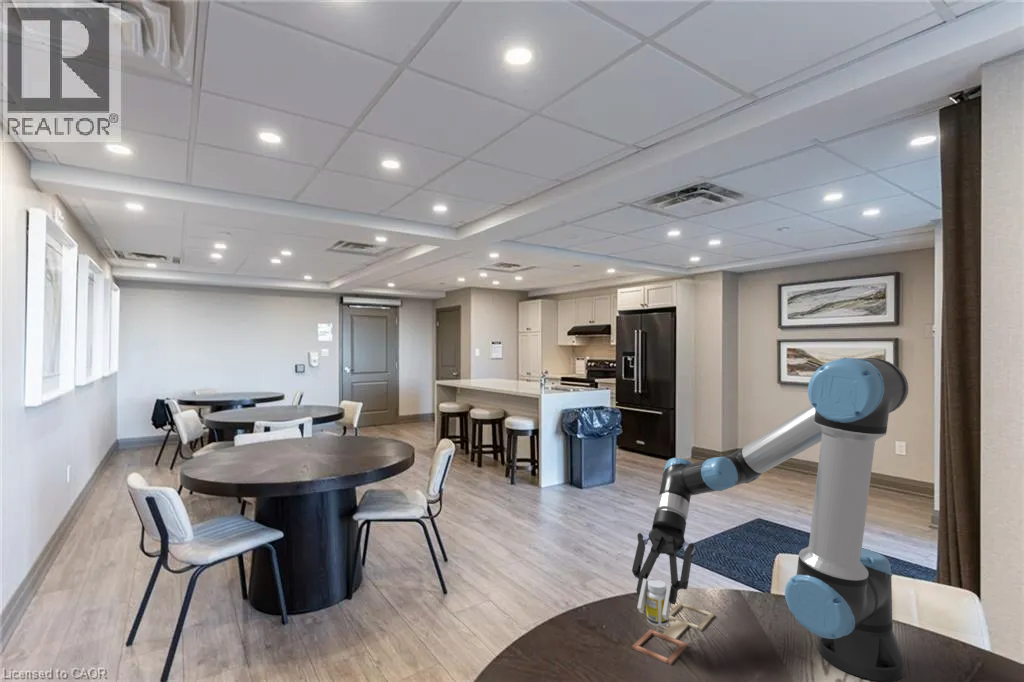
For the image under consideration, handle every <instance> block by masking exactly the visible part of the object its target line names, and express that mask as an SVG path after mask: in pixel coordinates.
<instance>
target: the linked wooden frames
mask: <svg viewBox="0 0 1024 682" xmlns="http://www.w3.org/2000/svg"><path fill="white" fill-rule="evenodd" d="M682 608H684V609H687V610H690V611H692V612H695V611H696V612H695V613H698V612H700V613H699V614H701V613H703V614H702V615H704V614H707V615H708V616H707V615H706V617H705V618H704V620H702V621H701V623H700V624H699V625H698V624H695V623H693V622H689V621H686V620H684V619H681V618H678V617H675V616H674V615H675V614H676V613H677V612H679V611H680V610H681V609H682ZM714 616H716V614H715V613H712V612H710V611H707V610H704V609H702V608H698V607H695V606H692V605H689V604H686V603H684V602H683V603H682V602H679V603H677V604H675V606H674V607H673V608H672V609H670V612H669V618H668V621H669V620H670V621H673V623H672V624H671V625H670V626H668V628H667V629H666V630H665V631H664V632H663V633H661V632H658V631H656V630H653V629H649V630H648V631H647V632H646V633H645V634H643V635H642V636H641V637H640V638H639V639H638V640H637V641H636V642H634V643H633V645H631V649H633V650H634V651H638V652H640V653H642V654H644V655H647V656H649V657H651V658H654V659H656V660H658V661H661V662H662V663H666V664H667V665H670V666H671V665H672V664H673V663H674V662H675V661H676V660H677V659H678V658H679V656H680V655H681V654H682V653H683V652H684V651H685V650H686V649H687V647H689V644H688V643H687V642H684V641H681V640H679V637H681V635H682V634H683V633H684V632H685V631H686V630H687V629H688V628H689V627H690V628H691V629H695V630H697V631H699V632H702V631H703V630H704V629H705V627H706V626H708V625H709V623H710V622H711V621H712V620H713V619H714V618H715V617H714ZM713 617H714V618H713ZM712 618H713V619H712ZM711 619H712V620H711ZM652 636H655V637H658V638H660V639H662V640H664V641H667V642H669V643H673V644H675V645H677V646H678V647H677V648H676V650H674V652H672V653H671V655H670V656H669V657H667V656H663V655H661V654H659V653H657V652H654V651H652V650H650V649H647V648H645V647H642V645H643V644H644V643H646V641H648V640H649V638H651V637H652Z"/></svg>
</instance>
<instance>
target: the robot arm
mask: <svg viewBox="0 0 1024 682" xmlns="http://www.w3.org/2000/svg"><path fill="white" fill-rule="evenodd" d="M908 394H909V383H908V379H907V376H905V374H904V372H903V371H902V370H901V369H900V368H899V367H898V366H897V365H895V364H894V363H892V362H890V361H888V360H885V359H881V358H877V357H875V358H873V357H866V358H863V357H862V358H856V357H843V358H839V359H835V360H831V361H828V362H827V363H826V362H825V363H824V364H823V365H821V366H820V367H818V368H816V370H815V372H813V374H812V375H811V377H810V379H809V382H808V386H807V396H808V400H809V402H810V404H811V405H809V406H807V407H806V408H805V409H803V410H801V411H799V412H798V413H796V414H795V415H793V416H791V417H790V418H788V419H787V420H785V421H784V422H782V423H780V424H779V425H777V426H776V427H774V428H772V429H771V430H769V431H766V432H765V433H764V434H762V435H761V436H759V437H758V438H755V439H754V440H752V441H750V442H749V443H748V444H746V445H744V446H743V447H741V448H740V449H738V450H736V451H735V452H733V453H731V454H729V455H728V454H727V455H724V456H716V457H710V458H708V459H703V460H701V461H696V462H694V463H692V462H691V461H690V460H688V459H686V458H682V457H672V458H669V459H668V460H667V461H666V463H665V467H664V470H663V471H662V478H661V479H662V480H661V483H660V487H659V488H660V489H659V493H658V494H659V495H658V498H657V503H656V507H655V513H654V517H653V522H652V527H651V529H650V531H649V532H648V533H647V534H642V533H641V532H639V533H637V545H636V546H637V547H636V551H635V555H634V560H633V564H632V569H631V573H632V574H633V576H634V577H635V578H636V579H637V581H638V582H637V585H636V589H635V590H636V594H637V595H638V597H639V598H638V602H637V607H636V608H637V609H638V612H639V613H641V614H644V612H645V607H646V592H647V590H648V581H649V580H648V578H649V576H650V574H651V572H652V570H653V568H654V565H655V563H656V561H657V559H658V558H659V557H660V555H663V554H665V555H667V556H669V557H668V558H669V569H670V584H666V596H665V601H664V607H663V613H662V615H663V617H664V619H665V620H668V621H669V619H668V618H669V612H670V611H671V606H672V605H676V603H677V598H678V593H679V592H678V591H679V590H687V589H688V587H689V586H688V585H689V579H690V574H691V573H690V572H691V567H692V566H691V565H692V559H693V557H694V555H695V554H696V552H697V551H696V547H695V544H694V543H693V542H692V543H691V542H690V543H689V542H688V541H686V540H685V532H686V527H687V519H688V514H689V508H690V504H691V503H690V502H691V498H692V497H693V496H696V495H700V494H707V493H713V492H722V491H725V490H728V489H731V488H733V487H735V486H739V485H741V484H749V483H752V482H753V481H756V480H757V479H759V478H760V476H761V475H762V474H764V473H765V472H768V471H769V470H771V469H772V468H775V467H777V466H779V465H781V464H782V463H784V462H786V461H787V460H789V459H791V458H793V457H795V456H797V455H798V454H800V453H802V452H804V451H807V449H809V448H812V447H813V446H815V445H817V444H819V443H820V447H819V455H818V464H817V473H816V483H815V490H814V491H815V492H814V499H813V509H812V516H811V523H810V525H811V526H810V533H809V539H808V546H807V547H804V548H801V550H800V551H799V553H798V561H797V566H796V567H797V569H796V574H795V575H794V576H792V577H790V578H789V581H788V582H787V584H786V585H785V590H784V598H785V602H786V604H787V607H788V609H789V611H790V612H791V613H792V614H793V616H794V617H795V619H796V621H797V622H798V623H799V624H800V625H801V626H803V628H804V629H806V630H807V631H809V632H810V633H812V634H814V635H815V636H818V637H817V649H818V652H819V653H820V656H821V657H822V658H824V660H825V661H827V662H828V663H829V664H830V665H832V666H834V667H836V668H837V669H839V670H841V671H844V672H845V673H847V674H850V675H853V676H855V675H856V677H858V676H861V677H860V678H862V677H863V679H865V678H867V679H866V680H870V681H876V682H894V681H898V680H901V679H902V678H903V677H904V676H905V672H906V671H905V670H906V668H905V667H906V666H905V665H906V664H905V659H904V655H903V653H902V651H901V650H902V649H901V648H900V645H899V643H898V640H897V637H896V635H895V632H894V628H893V627H894V626H893V624H894V623H893V593H892V592H893V591H892V590H893V588H892V585H893V584H892V577H893V573H892V569H891V563H890V561H889V559H888V558H887V557H886V556H884V555H883V554H880V553H879V552H876V551H873V550H870V549H867V548H863V542H864V535H865V528H866V527H865V526H866V520H867V508H868V502H869V501H868V500H869V493H870V485H871V477H872V470H873V469H872V467H873V463H874V462H873V460H874V452H875V446H876V445H875V444H876V441H878V440H879V439H880V438H883V437H885V436H886V435H887V431H888V424H889V423H888V422H889V414H890V413H893V412H894V411H896V410H898V409H899V408H900V407H901V406H902V405H903V404H904V403H905V401H906V400H907V398H908V396H909V395H908ZM649 541H650V542H651V544H652V545H651V547H650V552H649V553H648V555H647V557H646V559H645V561H644V556H645V551H646V545H647V544H648V542H649ZM681 549H683V550H684V554H683V555H684V556H683V562H682V567H681V572H680V573H681V574H680V579H679V575H678V565H677V563H678V561H677V560H678V559H677V553H678V552H679V551H680V550H681ZM643 561H644V564H643ZM642 564H643V565H642Z"/></svg>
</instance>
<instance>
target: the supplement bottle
mask: <svg viewBox="0 0 1024 682" xmlns="http://www.w3.org/2000/svg"><path fill="white" fill-rule="evenodd" d="M647 581H648V590H647V592H646V602H645V607H646V620H647V623H649V624H650V625H653V626H655V627H663V626H667V625H668V624H669V619H668V620H665V619H664V617H663V615H662V613H663V607H664V601H665V596H666V590H667V584H666V582H665V581H663V580H661V579H657V578H656V579H650V580H647Z"/></svg>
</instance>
